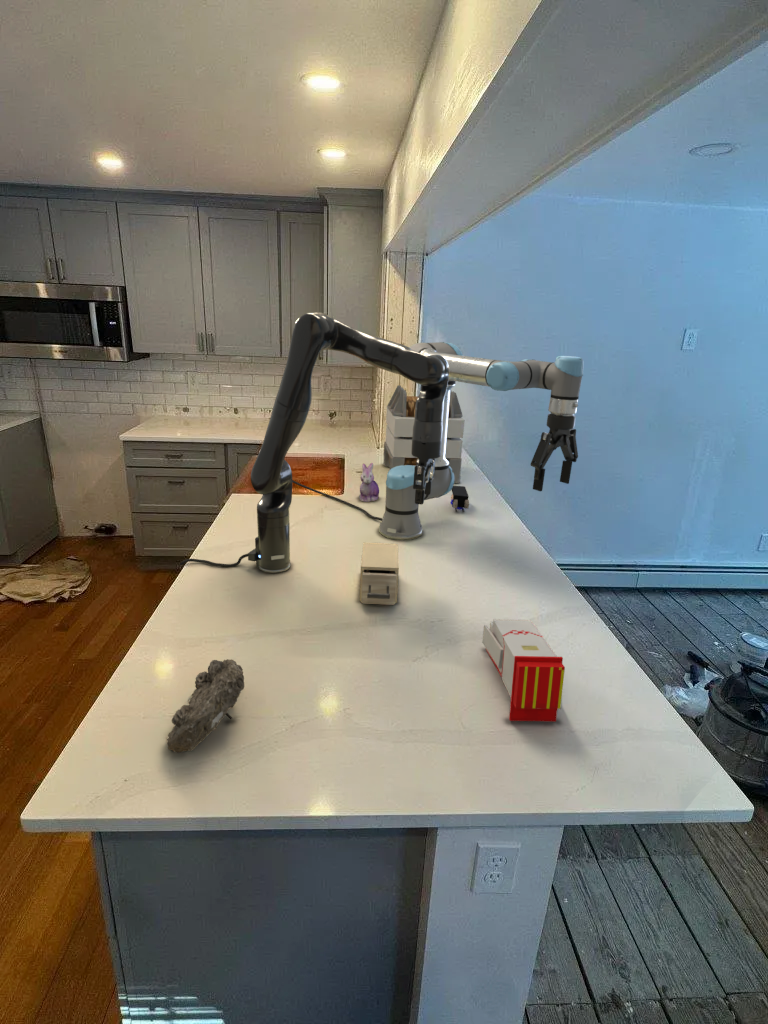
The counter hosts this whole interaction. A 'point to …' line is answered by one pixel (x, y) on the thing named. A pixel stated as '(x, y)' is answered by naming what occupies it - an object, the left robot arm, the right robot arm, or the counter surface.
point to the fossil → (206, 705)
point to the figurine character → (459, 498)
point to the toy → (526, 669)
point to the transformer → (402, 429)
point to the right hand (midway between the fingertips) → (551, 486)
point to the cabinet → (380, 560)
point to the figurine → (368, 485)
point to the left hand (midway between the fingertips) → (422, 498)
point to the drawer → (378, 587)
